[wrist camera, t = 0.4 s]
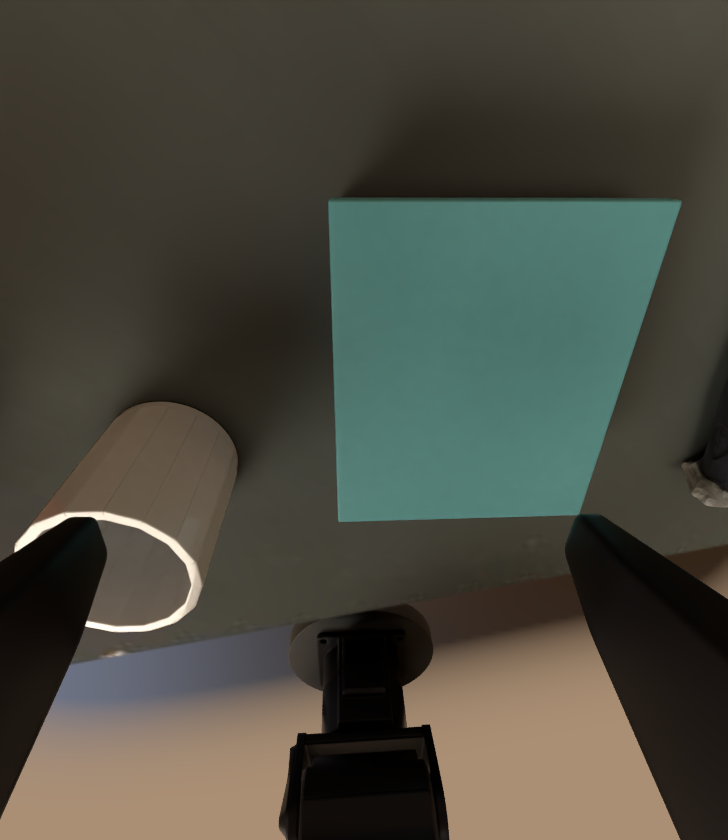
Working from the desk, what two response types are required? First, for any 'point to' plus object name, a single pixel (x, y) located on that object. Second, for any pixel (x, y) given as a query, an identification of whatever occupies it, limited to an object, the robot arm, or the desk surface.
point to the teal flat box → (482, 347)
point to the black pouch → (712, 463)
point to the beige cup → (149, 511)
